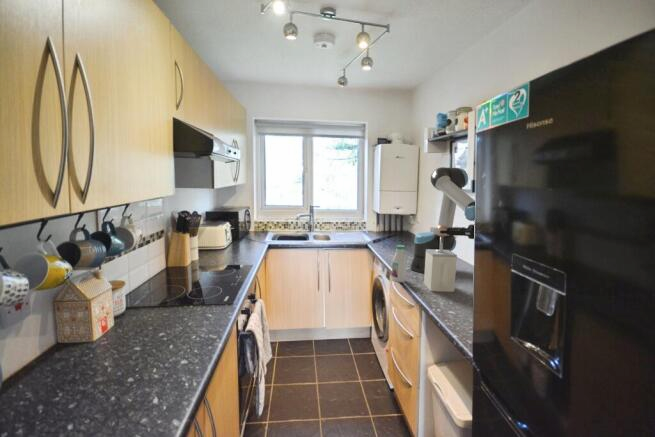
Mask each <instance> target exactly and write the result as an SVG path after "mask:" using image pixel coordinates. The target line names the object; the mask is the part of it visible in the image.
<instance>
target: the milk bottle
mask: <svg viewBox="0 0 655 437" xmlns="http://www.w3.org/2000/svg"><path fill="white" fill-rule="evenodd" d="M405 247H406V246H405V245H402V244H398V245H396V246H395V253H394V256H393V258H392V266H391V281H392V282H394V283H405V282H406V281H407V257H406V255H405V250H406V249H405Z"/></svg>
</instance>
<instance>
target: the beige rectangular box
mask: <svg viewBox="0 0 655 437" xmlns="http://www.w3.org/2000/svg"><path fill="white" fill-rule="evenodd" d="M457 257H458V256H457V253H454V252H453V251H449V250H443V252H442V253H439V250H436V249H426V258H425V273H423V274H424V276H423V279H424V280H423V284H424V286H425V287H426V288H427V289H428V290H429V291H430V292H444V293H445V292H449V293H451V292H452V293H454V292H455V285H456V272H457V259H458V258H457Z"/></svg>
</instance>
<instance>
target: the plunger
mask: <svg viewBox="0 0 655 437" xmlns="http://www.w3.org/2000/svg"><path fill="white" fill-rule="evenodd" d="M437 228H438V229H447V226H442V225H439V226H438V225H437ZM438 236H440V248H439V253H442V252H443V237H444V236H447V234H446V235H443V234H438Z"/></svg>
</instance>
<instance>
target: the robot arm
mask: <svg viewBox="0 0 655 437" xmlns="http://www.w3.org/2000/svg"><path fill="white" fill-rule="evenodd" d="M430 182H431V185H432V186H433V187H434V189H436V190H437V191H440V192H442V193H443V194H442V200H441V204H440V205H441V206H440V212H439V218H438V224H437V226H436V227H434V226H433V227H430V228H429V232H428V231H427V232H419V233H417V234H415V236H414V240H413V241H414V242H413V243H414V245H413V257H412V261H411V263H410V267H409V269H410V270H411V271H413V272H415V273H420V274H421V273H422V274H425V258H426V249H436V250H439V248H440V236H438V234H443V235H446V234H447V236H444V237H443V250H449V251H451V252H453V250H454V249H456V246H457V239H456V236H459V237H460V236H462V237H463V236H464V237H468V239H470V240H475V239H474V225H475V224H473V223H472V224H471V223H470V224H469V225H468V226H467V227H463V226H460V227H459V226H457V227H454V225H453V224H454V219H455V215H456V214H455V213H456V210H457V206H458V207H459V208H460V209H461V210H462V211H463V212H464V216H465V219H466V220H468V221H470V222H475V221H474V220H475V201H476V199H474V198H472V197H471V196H470V195H469V194H468V193H466V192H465V191H464V190H463V188H464V187H466V186H467V185H468V182H469V175H468V173H467V171H466V170H465V169H464V168H462V167H461V168H459V167H444V166H443V167H438V168H436V169H434V170H433V171H432V173H431V175H430ZM439 225H442V226H447V229H438V226H439Z"/></svg>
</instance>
